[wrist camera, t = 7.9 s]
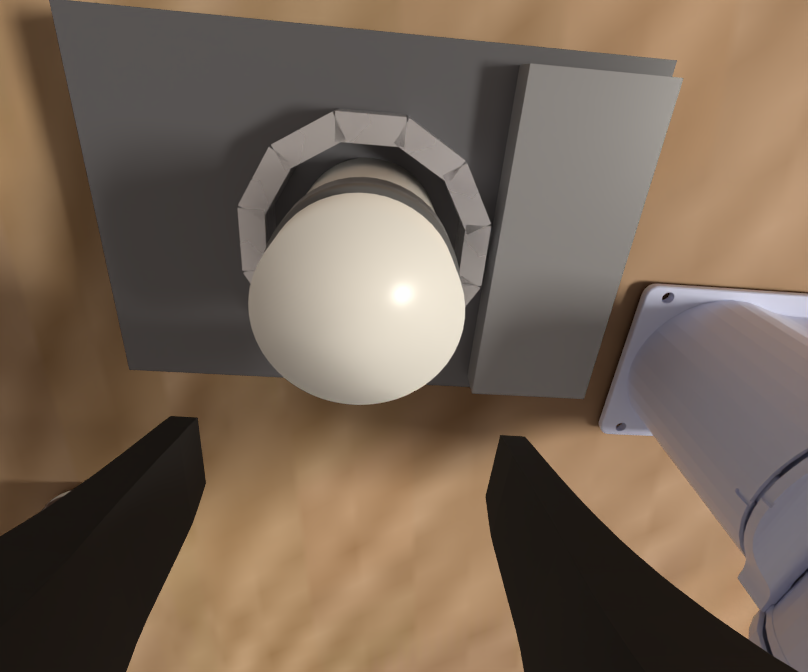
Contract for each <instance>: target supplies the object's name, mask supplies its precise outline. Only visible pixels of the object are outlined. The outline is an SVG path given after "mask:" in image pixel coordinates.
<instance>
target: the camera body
mask: <svg viewBox="0 0 808 672" xmlns="http://www.w3.org/2000/svg"><path fill="white" fill-rule="evenodd" d="M49 2H50V6H51V11H52V15H53V20H54V25H55V29H56V34H57V38H58V43H59V48H60V52H61V57H62V61H63V66H64V71H65V75H66V80H67V84H68V89H69V94H70V98H71V103H72V108H73V112H74V117H75V121H76V126H77V131H78V135H79V140H80V144H81V149H82V154H83V158H84V163H85V167H86V172H87V177H88V181H89V186H90V191H91V195H92V200H93V204H94V209H95V214H96V218H97V223H98V227H99V232H100V237H101V241H102V246H103V250H104V255H105V260H106V264H107V269H108V274H109V278H110V283H111V287H112V292H113V297H114V301H115V306H116V310H117V315H118V320H119V324H120V329H121V333H122V338H123V343H124V347H125V352H126V357H127V361H128V366H129V370H146V371H166V372H185V373H205V374H225V375H244V376H264V377H283V376H282V375H281V374H280V373H278V372H277V370H276V369H275V368H274V367H273V366H272V365H271V364H270V363H269V361H268V360H267V358H266V357H265V356H264V354H263V353H262V351H261V349H260V347H259V345H258V343H257V341H256V339H255V336H254V334H253V331H252V328H251V323H250V318H249V308H248V299H249V289H250V285H251V284H250V282H249V281H248V279H247V278H246V276H245V275H244V271H242V259H241V247H240V234H239V221H238V209H237V208H238V207H239V206H238V204H239V202H240V200H241V199H242V197H243V195H244V193H245V191H246V189H247V187H248V185H249V183H250V181H251V180H252V178H253V176H254V174H255V172H256V170H257V168H258V166H259V164H260V162H261V161H262V159H263V157H264V155H265V153H266V151H267V149H268V147H269V146H271V144H273V143H275V142H277V141H279V140H280V139H282V138H284V137H286V136H288V135H290V134H292V133H293V132H295V131H297V130H299V129H301V128H303V127H304V126H306V125H308V124H310V123H312V122H314V121H316V120H317V119H319V118H321V117H323V116H325V115H327V114H329V113H330V112H332V111H334V110H336V109H337V110H338V109H340V108H341V109H353V110H364V111H376V112H387V113H398V114H405V115H406V117H407V115H408V116H409V117H411V118H412V119H413V120H415V121H416V122H417V123H419V124H420V125H421V126H423V127H424V128H425V129H427V130H428V131H429V132H431V133H432V134H433V135H434V136H436V137H437V138H438V139H440V140H441V141H442V142H444V143H445V144H446V145H448V146H449V147H450V148H452V149H453V150H454V151H456V152H457V153H458V154H459V155H460V156H461V157H462V158H463V159H464V160H465V161H466V162H467V164H468V166H469V169H470V171H471V174H472V176H473V179H474V182H475V184H476V187H477V189H478V192H479V194H480V197H481V199H482V202H483V205H484V207H485V210H486V212H487V215H488V217H489V220H490V222H491V224H490V225H491V231H490V237H489V243H488V249H487V255H486V261H485V267H484V273H483V279H482V285H481V286H479V287H480V289H479V291H478V292H477V293H476V294H475V295H474V297H473V298H472V299H471V300H470V302H469V303H468V304H467V305H466V307H465V320H464V326H463V331H462V335H461V338H460V341H459V343H458V346H457V348H456V350H455V352H454V354H453V355H452V357H451V358H450V360H449V361H448V363H447V364H446V365H445V367H444V368H443V369H442V370H441V371H440V372H439V373H438V374H437V375H436V376H435V377H434V378H433V379H432V380H431V381H430V382H428V383H427V384H425V385H441V386H461V387H470V388H471V392H472V393H474V394H494V395H514V396H534V397H554V398H574V399H584V397H585V394H586V391H587V387H588V384H589V381H590V378H591V374H592V371H593V368H594V365H595V362H596V358H597V355H598V352H599V349H600V345H601V342H602V339H603V336H604V333H605V329H606V326H607V323H608V320H609V316H610V313H611V310H612V307H613V303H614V300H615V297H616V294H617V291H618V287H619V284H620V281H621V278H622V274H623V271H624V268H625V265H626V262H627V258H628V255H629V252H630V249H631V245H632V242H633V239H634V236H635V233H636V229H637V226H638V223H639V220H640V216H641V213H642V210H643V207H644V204H645V200H646V197H647V194H648V191H649V187H650V184H651V181H652V178H653V175H654V171H655V168H656V165H657V162H658V158H659V155H660V152H661V149H662V145H663V142H664V139H665V136H666V133H667V129H668V126H669V123H670V120H671V116H672V113H673V110H674V107H675V104H676V100H677V97H678V94H679V91H680V87H681V84H682V81H683V78H677V77H672V75H673V72H674V69H675V65H676V62H677V60H667V59H657V58H647V57H637V56H626V55H616V54H606V53H596V52H586V51H576V50H566V49H556V48H545V47H535V46H525V45H515V44H505V43H495V42H485V41H475V40H464V39H454V38H444V37H434V36H424V35H414V34H404V33H394V32H383V31H373V30H363V29H353V28H343V27H333V26H323V25H313V24H302V23H292V22H282V21H272V20H262V19H252V18H242V17H232V16H221V15H211V14H201V13H191V12H181V11H171V10H161V9H151V8H140V7H130V6H120V5H110V4H100V3H90V2H80V1H70V0H49ZM357 158H376V159H381V160H386V161H389V162H391V163H394V164H396V165H398V166H400V167H402V168H404V169H405V170H406V171H408V172H409V173H410V174H412V175H413V176H414V177H415V178H416V179H417V180H418V181H419V183H420V184H421V185H422V186H423V188H424V189H425V191H426V193H427V194H428V196H429V198H430V201H431V203H432V206H433V208H434V211H435V214H436V215H437V216H438V218H439V219H440V221H441V223H442V224H443V226H444V228H445V230H446V233H447V235H448V238H449V240H450V242H451V245H452V247H453V250H454V251H455V244H456V236H457V229H458V221H459V217H458V215H457V212H456V210H455V208H454V205H453V203H452V200H451V198H450V196H449V193H448V191H447V189H446V186H445V184H444V181H443V179H442V178H440V177H439V176H438V175H436V174H435V173H434V172H432V171H431V170H429V169H428V168H427V167H425V166H424V165H423V164H421V163H420V162H418V161H417V160H416V159H414V158H413V157H412V156H410V155H409V154H408V153H406V152H405V151H403V150H402V149H401V148H399V147H393V146H381V145H369V144H357V143H345V142H340V143H338V144H336V145H334V146H333V147H331V148H329V149H327V150H325V151H323V152H321V153H319V154H317V155H315V156H314V157H312V158H310V159H308V160H306V161H304V162H302V163H300V164H298V165H297V166H296V167H295V169H294V171H293V173H292V175H291V176H290V178H289V180H288V182H287V184H286V185H285V187H284V189H283V191H282V192H281V194H280V196H279V198H278V200H277V201H276V203H275V222H276V228H277V226H278V225H279V224H280V222H281V221H282V220H283V218H284V217H285V216H286V214H287V213H288V212H289V211H290V210H291V208H292V207H293V206H294V205H295V204H296V203H297V202H298V201H299V200H300V199H301V198H302V197H303V196H305V195H306V194H307V193H308V191H309V190H310V188H311V187H312V186H313V184H314V183H315V182H316V181H317V179H318V178H319V177H320V176H321V175H323V174H324V173H325V172H326V171H327V170H329V169H330V168H332V167H333V166H335V165H337V164H339V163H342V162H345V161H348V160H351V159H357Z"/></svg>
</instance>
